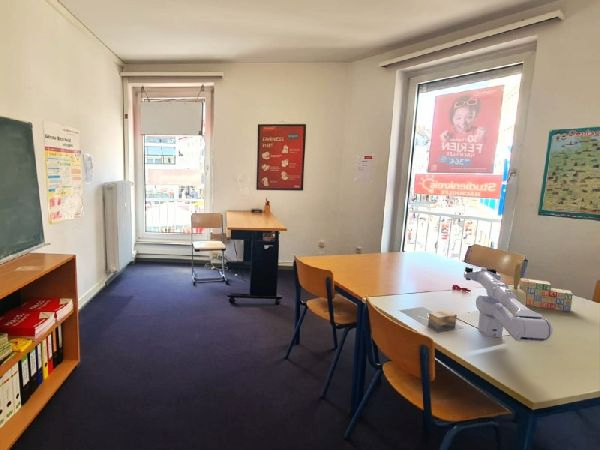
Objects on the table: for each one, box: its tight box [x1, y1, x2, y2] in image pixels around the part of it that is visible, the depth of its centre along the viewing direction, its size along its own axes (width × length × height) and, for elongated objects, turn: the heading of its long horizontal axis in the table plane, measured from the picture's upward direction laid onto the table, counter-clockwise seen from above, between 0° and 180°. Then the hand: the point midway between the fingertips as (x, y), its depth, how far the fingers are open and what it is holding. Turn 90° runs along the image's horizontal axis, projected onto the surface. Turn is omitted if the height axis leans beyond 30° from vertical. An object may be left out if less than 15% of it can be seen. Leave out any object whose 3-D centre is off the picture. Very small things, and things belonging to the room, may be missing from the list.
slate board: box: [398, 306, 464, 334], centre depth 150 cm, size 24×14×1 cm, turn 23°
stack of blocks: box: [518, 277, 574, 313], centre depth 174 cm, size 21×6×12 cm, turn 62°
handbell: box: [508, 263, 526, 315], centre depth 158 cm, size 15×15×25 cm
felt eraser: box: [428, 309, 457, 329], centre depth 143 cm, size 10×5×5 cm, turn 113°
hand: (474, 269), depth 156 cm, fingers open, 7 cm apart
